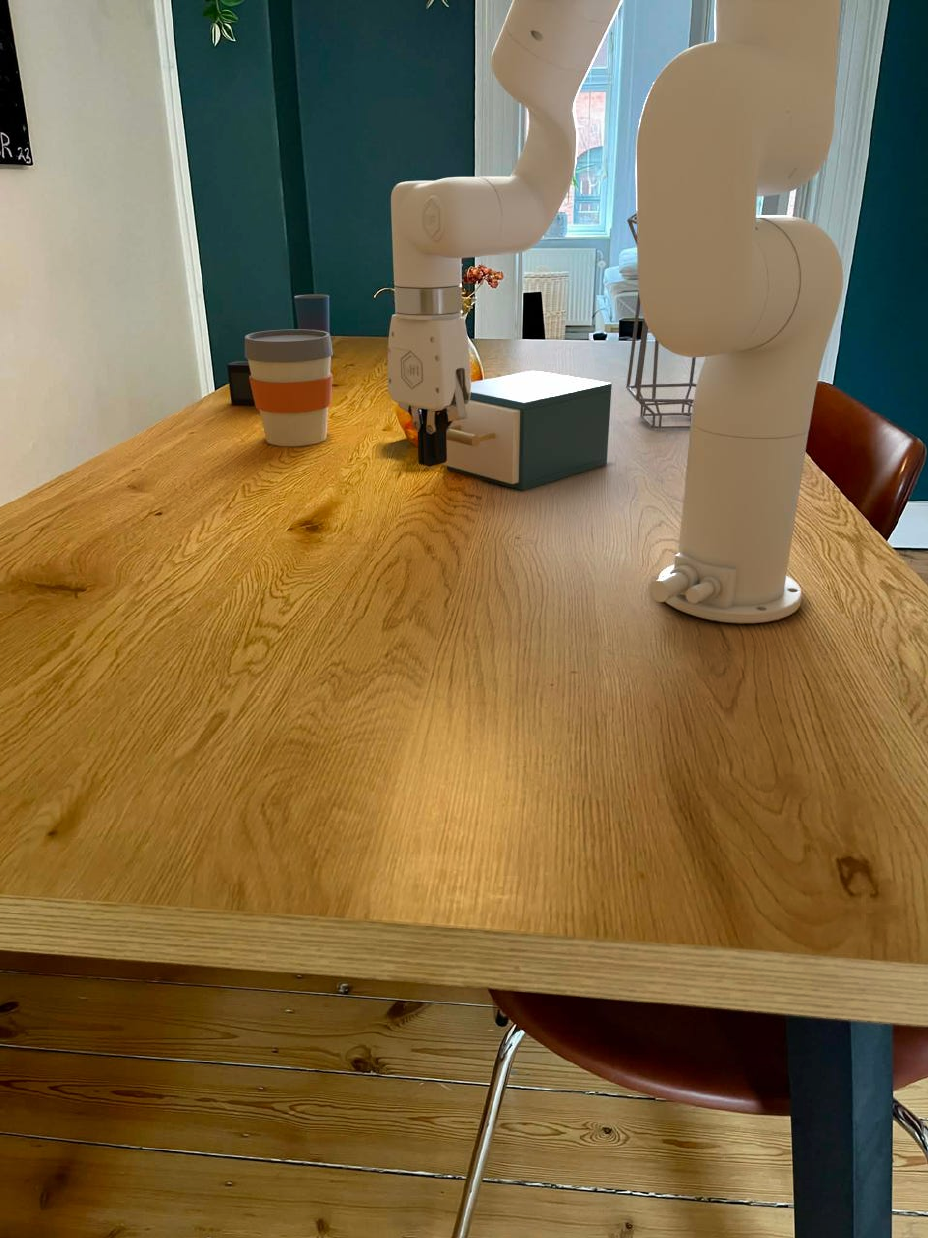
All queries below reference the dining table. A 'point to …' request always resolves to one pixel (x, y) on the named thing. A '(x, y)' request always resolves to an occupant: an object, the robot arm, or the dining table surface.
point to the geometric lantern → (640, 371)
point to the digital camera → (240, 383)
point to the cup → (312, 312)
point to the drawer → (486, 441)
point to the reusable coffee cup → (291, 384)
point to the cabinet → (551, 423)
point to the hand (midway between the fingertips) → (432, 462)
